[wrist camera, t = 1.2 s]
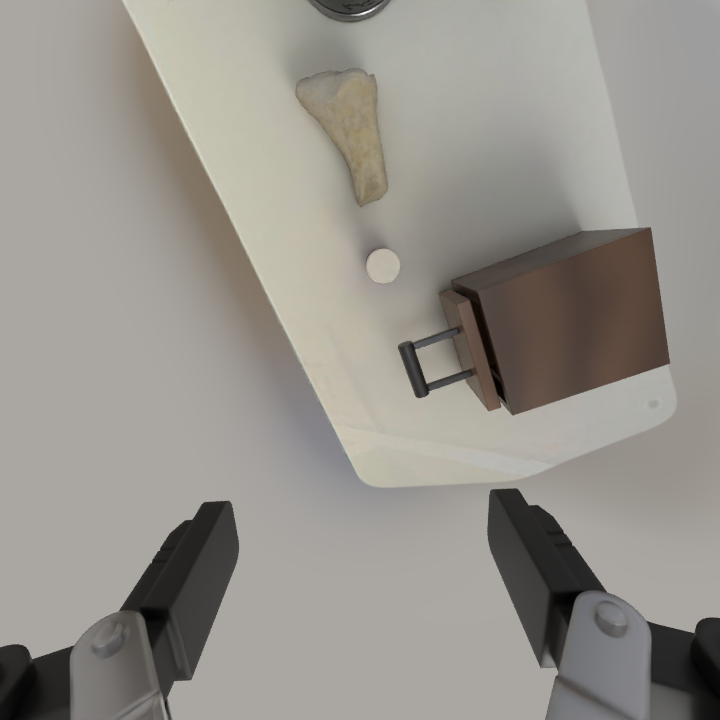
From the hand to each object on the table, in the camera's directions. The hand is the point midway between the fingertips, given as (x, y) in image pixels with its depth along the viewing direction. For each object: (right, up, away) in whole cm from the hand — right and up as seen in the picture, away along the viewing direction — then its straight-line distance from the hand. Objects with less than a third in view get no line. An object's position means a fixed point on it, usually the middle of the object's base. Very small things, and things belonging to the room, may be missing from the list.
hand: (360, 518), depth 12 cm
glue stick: (+2, +15, +26) cm, 30 cm away
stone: (-1, +25, +23) cm, 34 cm away
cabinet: (+18, +10, +28) cm, 34 cm away
